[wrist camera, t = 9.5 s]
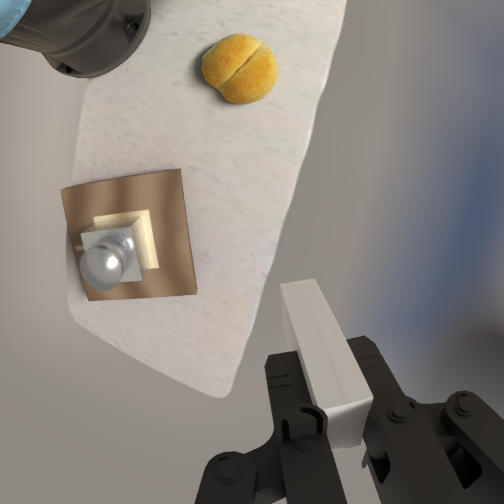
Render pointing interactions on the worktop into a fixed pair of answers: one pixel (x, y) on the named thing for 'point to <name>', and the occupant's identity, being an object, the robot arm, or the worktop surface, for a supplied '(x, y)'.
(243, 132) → the worktop surface
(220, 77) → the bread roll
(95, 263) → the metal block with knob
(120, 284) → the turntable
